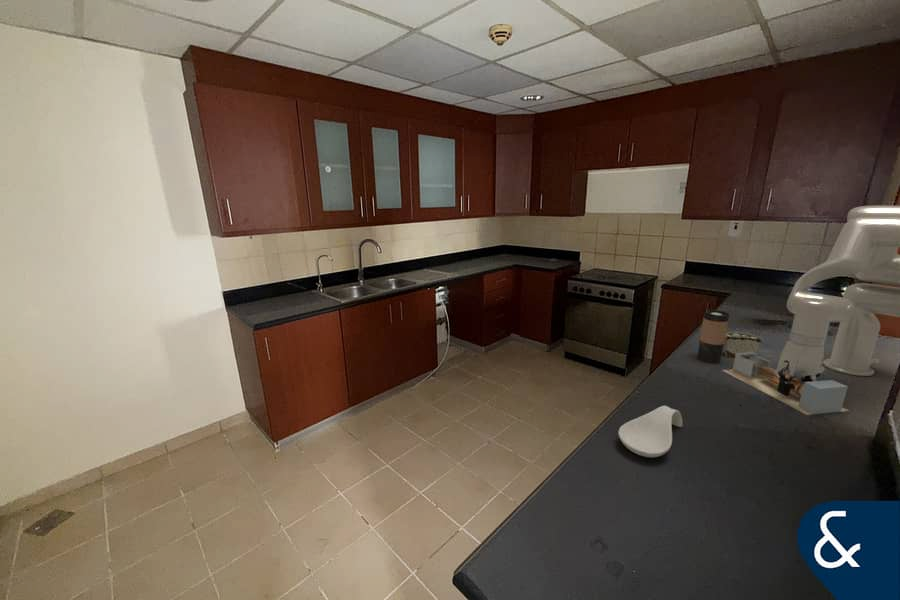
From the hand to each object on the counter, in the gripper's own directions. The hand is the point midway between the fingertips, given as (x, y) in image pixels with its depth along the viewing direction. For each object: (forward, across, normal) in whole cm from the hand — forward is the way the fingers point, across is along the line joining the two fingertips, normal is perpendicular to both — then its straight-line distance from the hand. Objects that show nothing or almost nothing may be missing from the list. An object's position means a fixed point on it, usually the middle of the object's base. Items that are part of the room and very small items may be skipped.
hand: (793, 392), depth 113 cm
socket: (+1, 0, +8) cm, 8 cm away
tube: (0, 0, -2) cm, 2 cm away
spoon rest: (+3, +55, +12) cm, 57 cm away
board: (+2, 0, -5) cm, 6 cm away
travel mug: (+2, +4, -28) cm, 29 cm away
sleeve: (+1, 0, -15) cm, 15 cm away
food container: (+2, -10, -30) cm, 32 cm away
